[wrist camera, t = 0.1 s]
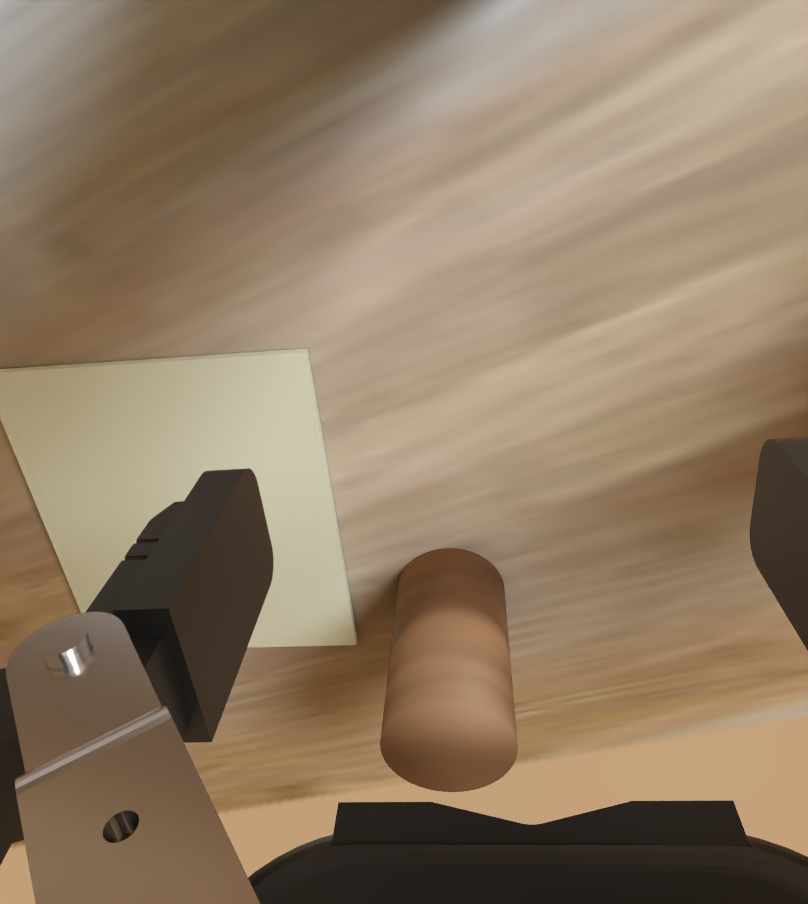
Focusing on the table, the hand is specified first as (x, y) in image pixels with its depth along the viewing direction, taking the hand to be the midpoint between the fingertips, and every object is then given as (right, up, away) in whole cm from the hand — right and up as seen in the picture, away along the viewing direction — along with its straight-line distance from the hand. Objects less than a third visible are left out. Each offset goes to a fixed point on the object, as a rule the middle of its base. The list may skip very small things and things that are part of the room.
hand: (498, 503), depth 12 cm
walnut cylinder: (+1, -6, +23) cm, 24 cm away
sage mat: (-12, -2, +22) cm, 25 cm away
